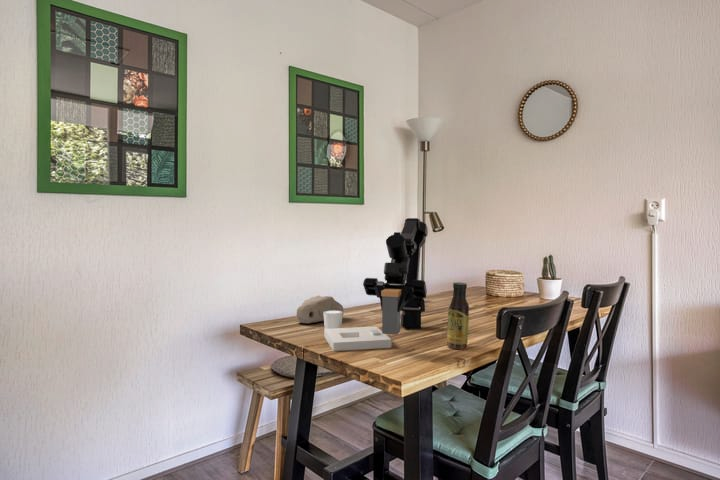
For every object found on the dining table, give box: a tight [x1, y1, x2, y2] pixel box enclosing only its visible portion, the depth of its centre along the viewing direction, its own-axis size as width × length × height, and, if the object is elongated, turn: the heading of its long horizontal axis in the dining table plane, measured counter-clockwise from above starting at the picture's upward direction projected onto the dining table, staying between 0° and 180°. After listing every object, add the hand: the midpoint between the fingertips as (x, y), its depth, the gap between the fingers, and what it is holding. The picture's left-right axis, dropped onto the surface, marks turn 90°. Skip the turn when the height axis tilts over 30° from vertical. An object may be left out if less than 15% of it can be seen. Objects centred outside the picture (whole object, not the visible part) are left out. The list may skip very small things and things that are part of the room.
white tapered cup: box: [323, 310, 344, 329], centre depth 158 cm, size 7×7×7 cm
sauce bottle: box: [446, 281, 470, 350], centre depth 138 cm, size 7×6×20 cm
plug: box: [381, 289, 402, 336], centre depth 132 cm, size 5×5×12 cm
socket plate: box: [323, 326, 392, 352], centre depth 144 cm, size 18×18×3 cm
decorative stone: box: [295, 295, 344, 324], centre depth 174 cm, size 20×8×10 cm, turn 130°
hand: (390, 310), depth 131 cm, fingers closed on plug, 4 cm apart
